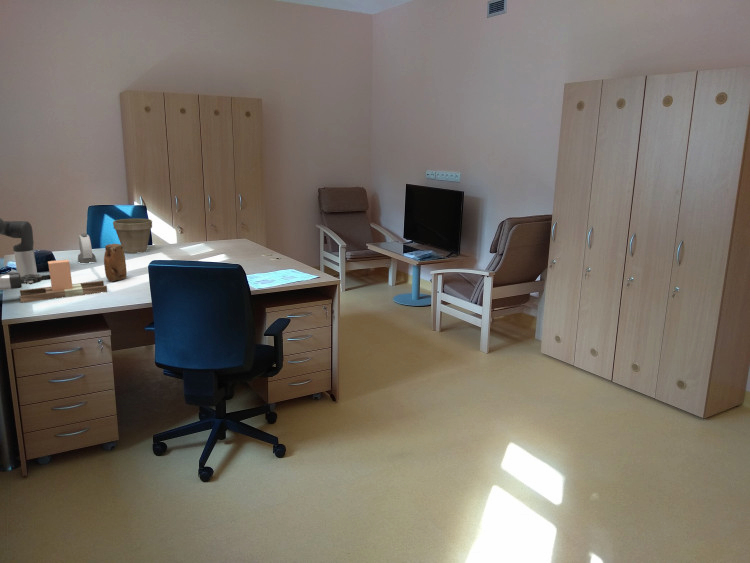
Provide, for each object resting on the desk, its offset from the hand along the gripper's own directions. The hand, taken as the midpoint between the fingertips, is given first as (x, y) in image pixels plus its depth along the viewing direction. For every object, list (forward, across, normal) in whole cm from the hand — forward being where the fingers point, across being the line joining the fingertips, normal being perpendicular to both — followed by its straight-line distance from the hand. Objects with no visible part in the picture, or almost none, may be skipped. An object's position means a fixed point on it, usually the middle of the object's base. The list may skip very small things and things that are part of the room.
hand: (50, 277), depth 278 cm
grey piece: (+23, +77, +10) cm, 81 cm away
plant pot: (+55, +97, +10) cm, 112 cm away
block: (+32, +18, +10) cm, 38 cm away
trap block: (+4, 0, +7) cm, 8 cm away
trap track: (+5, 0, +10) cm, 11 cm away
